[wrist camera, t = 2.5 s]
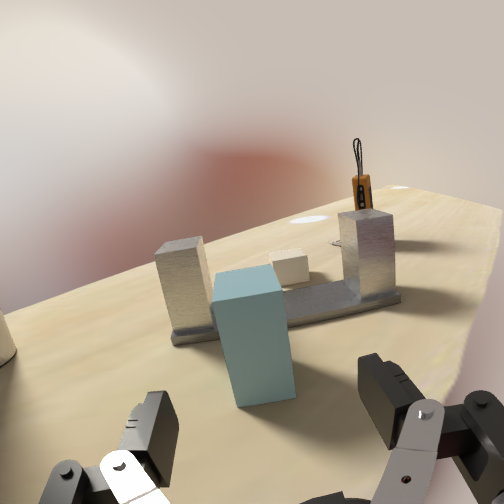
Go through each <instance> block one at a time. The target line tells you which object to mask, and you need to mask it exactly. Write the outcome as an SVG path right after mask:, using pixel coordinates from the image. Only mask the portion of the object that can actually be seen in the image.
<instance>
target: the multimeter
mask: <svg viewBox="0 0 504 504" xmlns="http://www.w3.org/2000/svg"><path fill="white" fill-rule="evenodd" d="M357 139H358V143H357V155H356V151H355V145H354V143H355V140H357ZM359 142H360V150H361V162H360V157H359V151H358V150H359ZM353 148H354V152H355V157H356V161H357V167H358V175H356V176H355V177H353V178H352V185H353V193H354V202H355V211H357V210H363V209H370V208H371V209H373V203H372V193H371V184H370V176H369V175H363V169H362V148H361V141H360V140H359V138H356V139H354V141H353ZM357 157H358V159H357ZM339 241H341V240H339ZM339 241H336V242H339ZM328 243H332V245H337V246H341V244H340V243H335V242H328Z"/></svg>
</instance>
